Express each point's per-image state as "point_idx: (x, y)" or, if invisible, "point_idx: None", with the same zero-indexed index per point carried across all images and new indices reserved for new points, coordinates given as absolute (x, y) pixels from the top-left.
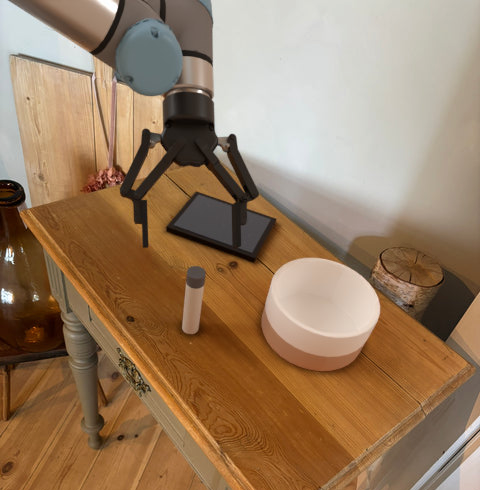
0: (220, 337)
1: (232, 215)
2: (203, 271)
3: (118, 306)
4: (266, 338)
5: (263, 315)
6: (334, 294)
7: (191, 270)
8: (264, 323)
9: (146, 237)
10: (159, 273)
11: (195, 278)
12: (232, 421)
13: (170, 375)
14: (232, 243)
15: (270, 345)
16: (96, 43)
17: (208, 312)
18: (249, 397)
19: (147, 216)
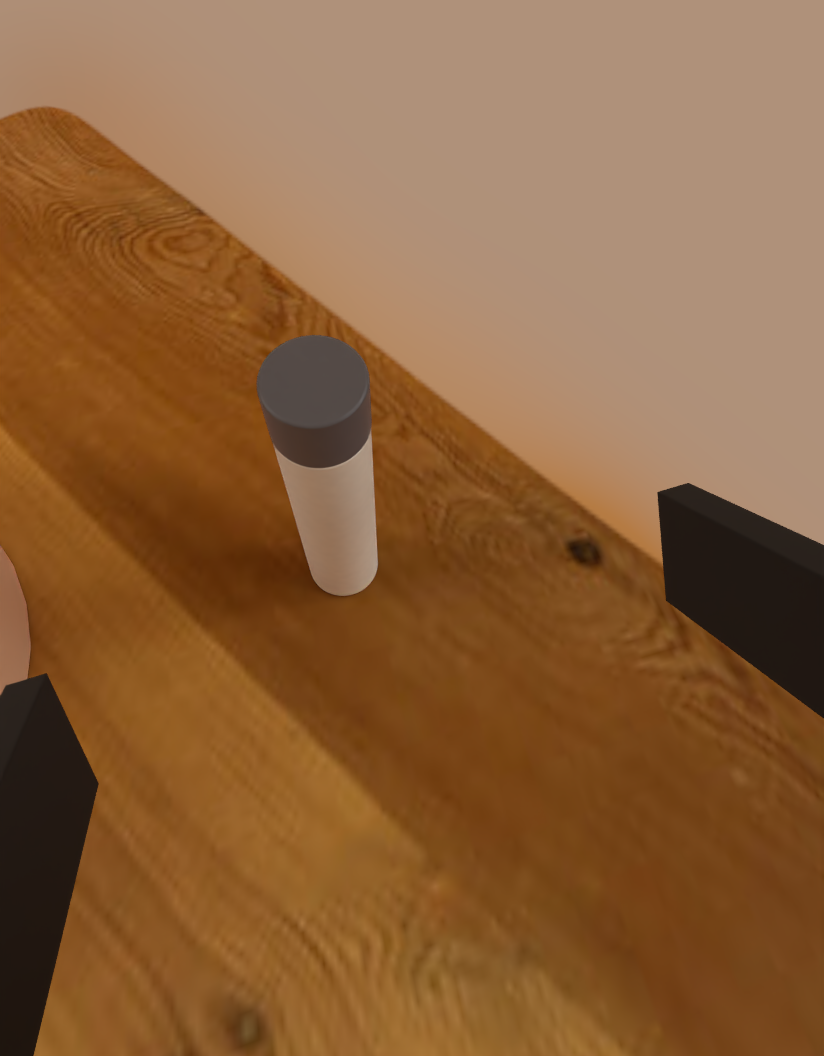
0: (215, 549)
1: (31, 985)
2: (271, 391)
3: (658, 603)
4: (14, 574)
5: (4, 652)
6: None
7: (343, 383)
8: (6, 607)
9: (701, 506)
10: (569, 876)
11: (310, 335)
12: (161, 265)
13: (372, 362)
14: (92, 804)
15: (2, 548)
16: None
17: (279, 671)
18: (105, 340)
19: (797, 561)
